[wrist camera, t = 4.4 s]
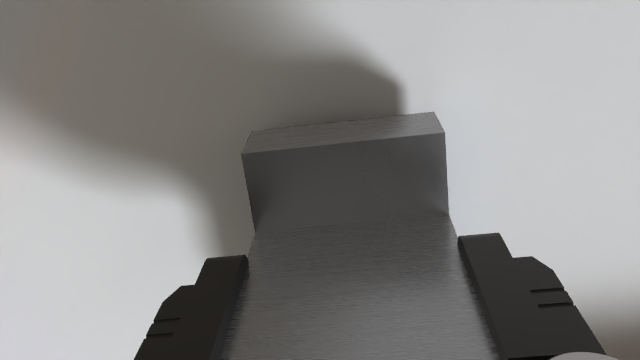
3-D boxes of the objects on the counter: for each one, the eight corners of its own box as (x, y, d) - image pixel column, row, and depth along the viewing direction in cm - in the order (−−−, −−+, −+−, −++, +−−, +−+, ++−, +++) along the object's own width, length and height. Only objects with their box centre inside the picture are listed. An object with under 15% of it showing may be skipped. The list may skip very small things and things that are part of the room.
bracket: (252, 131, 13) (93, 458, 5) (433, 111, 13) (597, 426, 5) (284, 320, 15) (209, 792, 7) (444, 307, 15) (575, 787, 6)
